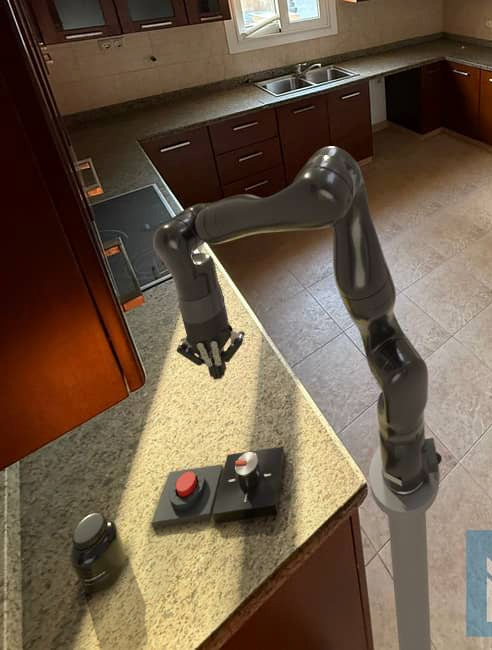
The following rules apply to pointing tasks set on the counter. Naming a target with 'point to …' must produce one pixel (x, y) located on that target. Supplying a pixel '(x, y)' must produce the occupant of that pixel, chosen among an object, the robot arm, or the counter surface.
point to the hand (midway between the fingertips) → (219, 375)
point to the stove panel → (253, 501)
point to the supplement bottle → (97, 553)
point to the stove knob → (248, 470)
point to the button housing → (188, 498)
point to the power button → (186, 484)
